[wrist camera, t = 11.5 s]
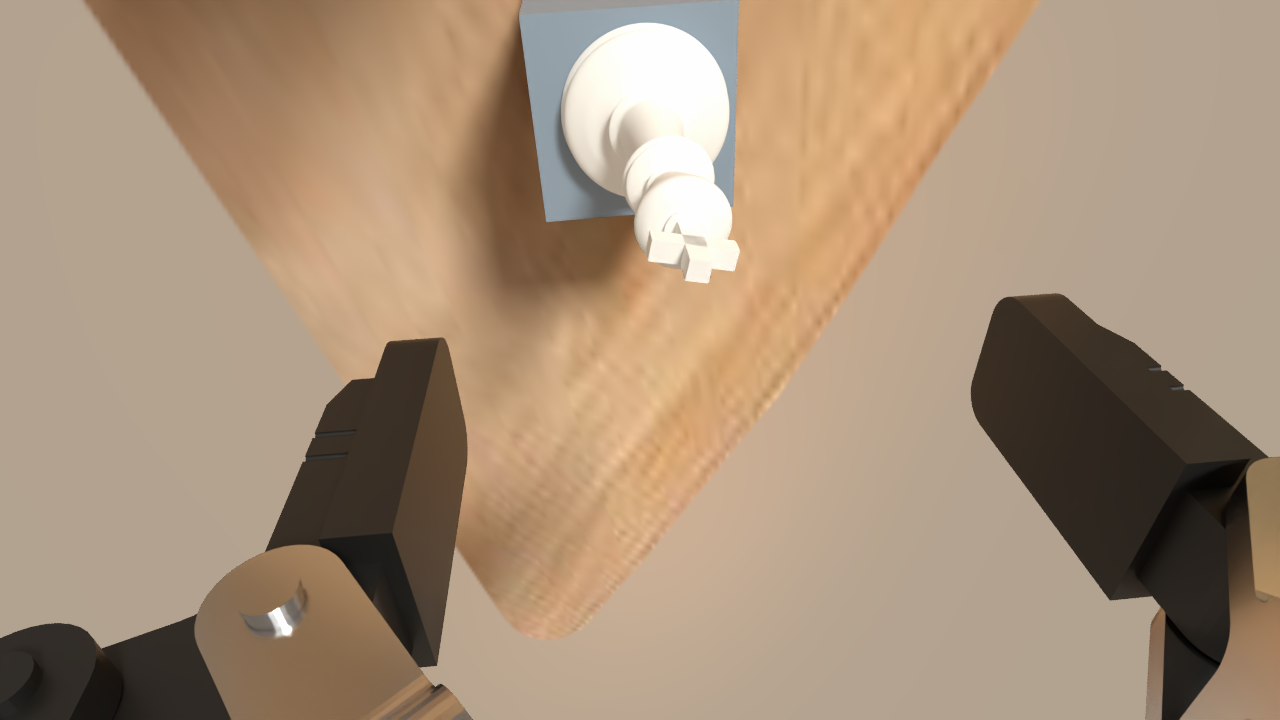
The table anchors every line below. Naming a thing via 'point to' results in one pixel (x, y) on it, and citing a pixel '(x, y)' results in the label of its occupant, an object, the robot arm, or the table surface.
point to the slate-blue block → (553, 41)
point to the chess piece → (656, 140)
